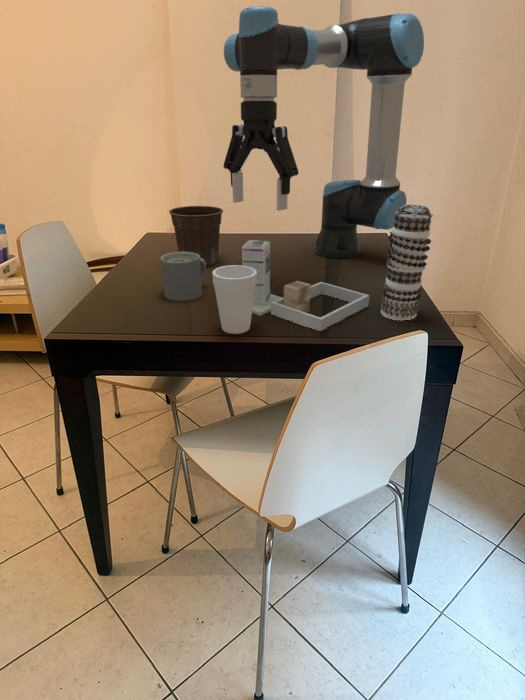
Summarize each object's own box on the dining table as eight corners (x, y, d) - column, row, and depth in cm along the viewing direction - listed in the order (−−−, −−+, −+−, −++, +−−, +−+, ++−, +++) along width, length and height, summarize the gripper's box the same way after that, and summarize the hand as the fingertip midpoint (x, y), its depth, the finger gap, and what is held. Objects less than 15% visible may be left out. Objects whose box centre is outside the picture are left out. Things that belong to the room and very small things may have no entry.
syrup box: (265, 305, 114) (266, 246, 107) (242, 303, 115) (241, 245, 108) (270, 296, 119) (271, 240, 112) (248, 294, 120) (247, 239, 113)
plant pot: (191, 252, 158) (188, 203, 150) (233, 258, 152) (232, 207, 144) (163, 265, 145) (158, 212, 137) (207, 272, 139) (204, 217, 131)
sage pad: (257, 292, 124) (257, 289, 123) (289, 303, 117) (289, 300, 117) (227, 303, 117) (227, 300, 116) (260, 315, 110) (260, 312, 110)
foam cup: (215, 319, 108) (212, 265, 102) (254, 318, 109) (254, 264, 103) (215, 337, 100) (212, 279, 94) (258, 336, 100) (258, 278, 94)
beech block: (296, 307, 115) (297, 280, 112) (309, 311, 112) (310, 284, 109) (283, 313, 112) (283, 285, 108) (296, 318, 109) (297, 289, 106)
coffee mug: (177, 304, 116) (173, 265, 112) (157, 293, 123) (153, 256, 118) (220, 291, 124) (218, 255, 120) (199, 282, 131) (196, 247, 126)
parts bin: (320, 292, 124) (321, 281, 123) (368, 306, 115) (369, 295, 114) (270, 314, 111) (270, 302, 110) (320, 332, 102) (321, 319, 101)
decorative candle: (371, 314, 111) (384, 207, 99) (390, 303, 117) (404, 201, 105) (407, 325, 106) (425, 213, 94) (424, 313, 112) (444, 206, 100)
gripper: (204, 100, 101) (210, 201, 111) (294, 99, 86) (291, 216, 96) (229, 100, 106) (232, 196, 116) (318, 99, 91) (313, 210, 101)
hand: (259, 205), depth 106 cm, fingers open, 13 cm apart
